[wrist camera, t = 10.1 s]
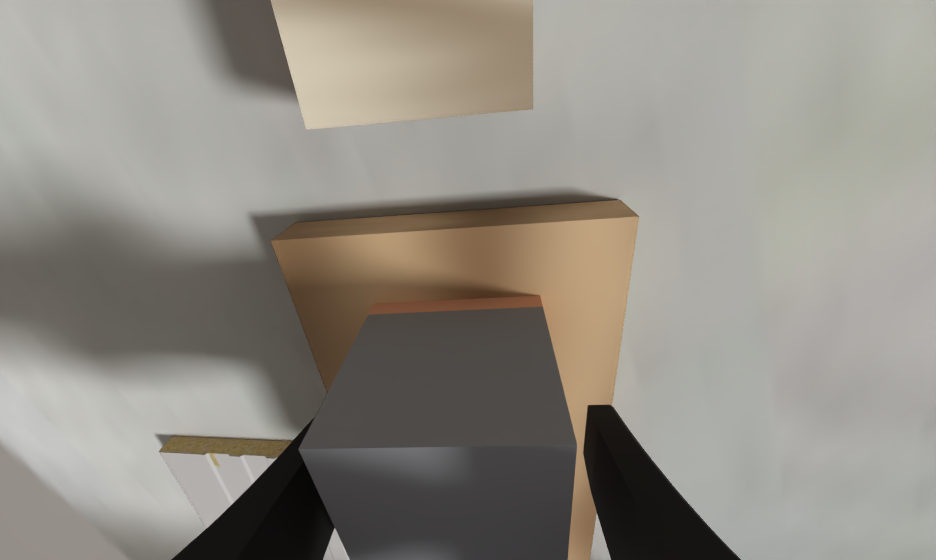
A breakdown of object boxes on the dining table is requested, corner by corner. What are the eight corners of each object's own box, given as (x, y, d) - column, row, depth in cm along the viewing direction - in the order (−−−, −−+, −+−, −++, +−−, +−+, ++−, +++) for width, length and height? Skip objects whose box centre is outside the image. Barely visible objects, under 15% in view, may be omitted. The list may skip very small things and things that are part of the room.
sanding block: (540, 295, 11) (577, 445, 6) (538, 484, 15) (559, 651, 10) (373, 303, 11) (298, 449, 7) (418, 484, 15) (390, 647, 11)
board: (620, 199, 11) (639, 216, 9) (577, 570, 21) (583, 603, 20) (295, 222, 11) (269, 241, 10) (409, 568, 22) (403, 600, 21)
